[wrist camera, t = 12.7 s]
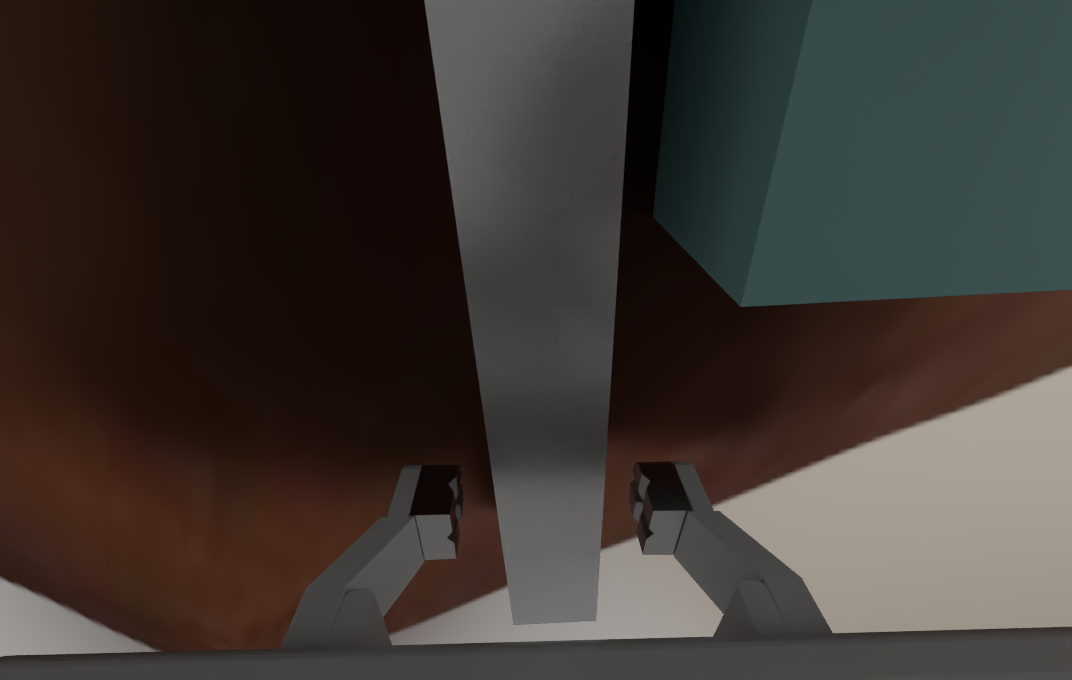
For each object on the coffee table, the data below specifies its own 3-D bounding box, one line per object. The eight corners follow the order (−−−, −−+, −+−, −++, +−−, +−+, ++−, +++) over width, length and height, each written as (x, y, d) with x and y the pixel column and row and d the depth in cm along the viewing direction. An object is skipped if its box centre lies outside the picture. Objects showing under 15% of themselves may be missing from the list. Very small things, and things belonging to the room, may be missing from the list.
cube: (943, -66, 8) (1435, -237, 4) (851, 205, 11) (1076, 289, 6) (678, -52, 8) (862, -210, 4) (651, 215, 11) (740, 307, 6)
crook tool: (904, -232, 7) (1295, -550, 3) (710, 500, 16) (760, 611, 13) (438, -209, 7) (352, -502, 3) (515, 510, 16) (513, 624, 13)
